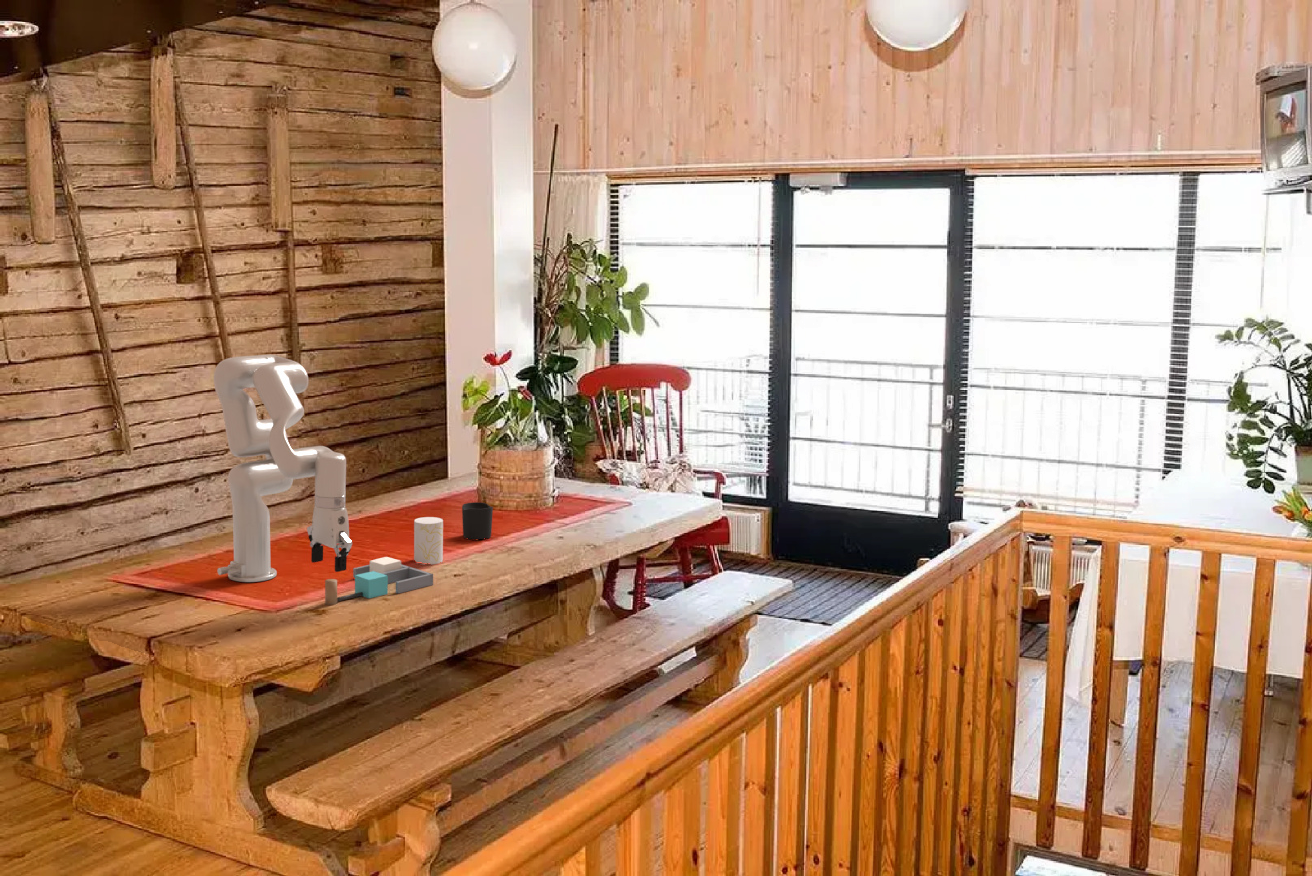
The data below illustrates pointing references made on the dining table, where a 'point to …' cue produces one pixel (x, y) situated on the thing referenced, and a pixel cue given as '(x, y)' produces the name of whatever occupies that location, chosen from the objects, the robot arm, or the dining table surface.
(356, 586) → the teal block with handle
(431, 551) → the cup
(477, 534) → the pen holder
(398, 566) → the off-white block
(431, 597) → the dining table surface
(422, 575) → the lane rack
